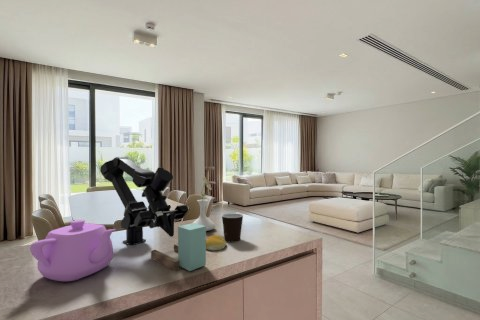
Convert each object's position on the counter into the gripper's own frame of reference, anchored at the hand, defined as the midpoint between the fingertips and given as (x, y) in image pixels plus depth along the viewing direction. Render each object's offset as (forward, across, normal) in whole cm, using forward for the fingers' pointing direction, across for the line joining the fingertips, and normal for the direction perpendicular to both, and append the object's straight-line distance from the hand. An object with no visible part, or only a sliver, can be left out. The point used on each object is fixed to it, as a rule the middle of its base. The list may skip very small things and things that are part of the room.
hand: (172, 236), depth 87 cm
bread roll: (+7, -17, -4) cm, 19 cm away
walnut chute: (+7, 0, -3) cm, 8 cm away
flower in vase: (-8, -29, -19) cm, 35 cm away
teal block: (+13, 0, +3) cm, 13 cm away
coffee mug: (+6, -29, -4) cm, 30 cm away
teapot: (-2, +25, -13) cm, 28 cm away
